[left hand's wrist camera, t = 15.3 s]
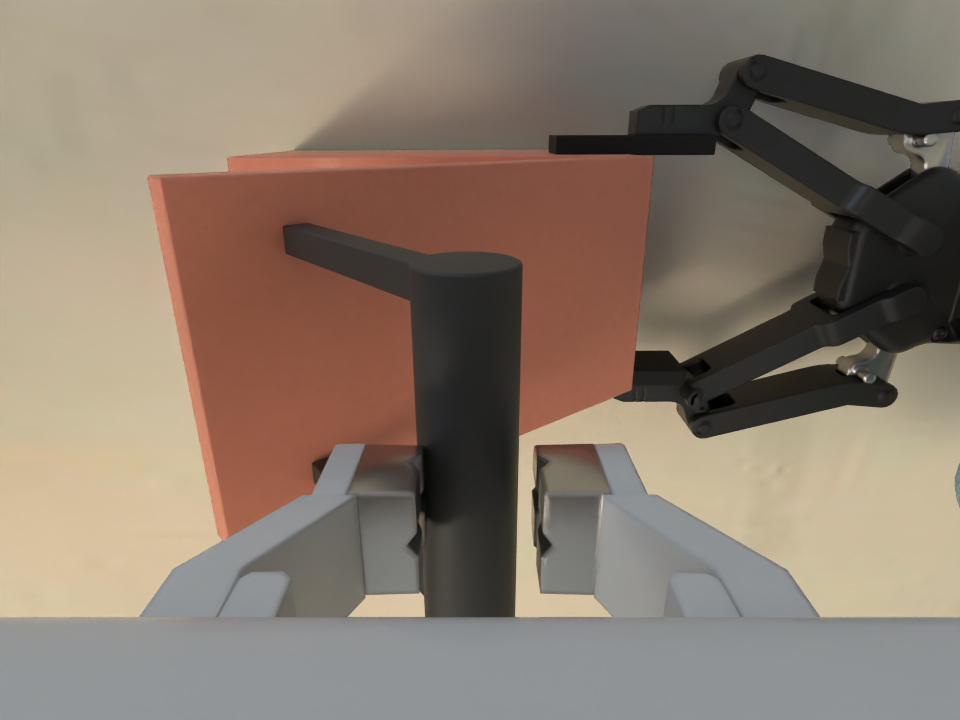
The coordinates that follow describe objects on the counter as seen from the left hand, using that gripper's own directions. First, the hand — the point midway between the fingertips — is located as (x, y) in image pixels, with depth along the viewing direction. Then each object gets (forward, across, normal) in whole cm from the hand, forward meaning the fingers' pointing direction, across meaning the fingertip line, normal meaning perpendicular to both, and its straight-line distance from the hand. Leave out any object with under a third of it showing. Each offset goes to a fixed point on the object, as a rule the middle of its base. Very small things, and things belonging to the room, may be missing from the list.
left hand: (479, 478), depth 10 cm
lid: (+10, +1, 0) cm, 10 cm away
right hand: (+18, -3, 0) cm, 18 cm away
